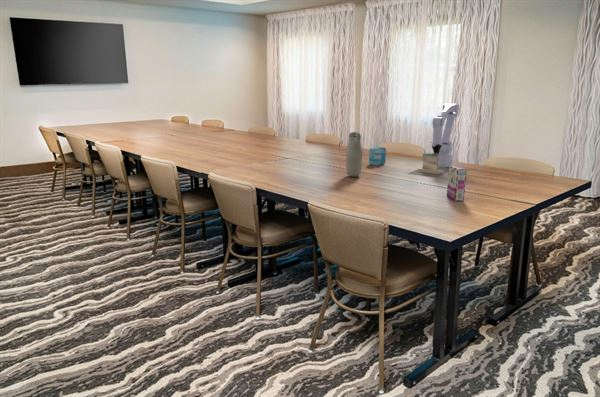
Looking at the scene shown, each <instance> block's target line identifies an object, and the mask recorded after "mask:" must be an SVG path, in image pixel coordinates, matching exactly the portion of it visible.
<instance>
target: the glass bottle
mask: <svg viewBox="0 0 600 397" xmlns="http://www.w3.org/2000/svg"><path fill="white" fill-rule="evenodd" d="M361 139H362V135H361V133H360V132H358V131H353V132H350V133H349V135H348V142H347V147H346V152H345V172H346V174H347V176H348V177H352V178H355V177H356V178H357V177H359V176H360V175H361V173H362V169H363V154H364V152H363V147H362V142H361Z"/></svg>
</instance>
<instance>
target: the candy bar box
mask: <svg viewBox="0 0 600 397" xmlns="http://www.w3.org/2000/svg"><path fill="white" fill-rule="evenodd" d="M467 170H468V169H466V168H464V167H462V166H459V165H452V166H449V167H448V176H447V178H448V179H447V188H446V190H447V191H446V198H447V197H448V199H451V200H452V201H454V202H464V200H465V193H466V192H465V191H466V181H467Z"/></svg>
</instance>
